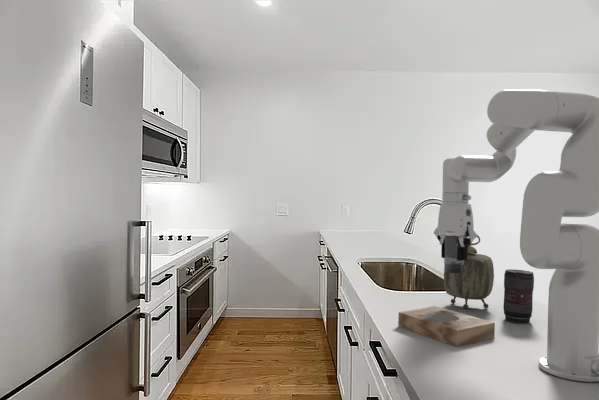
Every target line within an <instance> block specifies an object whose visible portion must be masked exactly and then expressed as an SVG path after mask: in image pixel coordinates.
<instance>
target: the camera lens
mask: <svg viewBox="0 0 599 400" xmlns="http://www.w3.org/2000/svg"><path fill="white" fill-rule="evenodd" d="M503 277H504V278H503V288H504V289H503V290H504V294H503V304H502V305H503V315H505V316H504V317H505V318H504V319H505V321H507V322H510V323H512V324H513V323H514V324H519V325H520V324H529V323H530V321H531V318H532V317H533V297H534V296H533V294H534V287H535V285H534V284H535V276H534V272H533V271H530V270H522V269H512V268H511V269H505V271H504V275H503Z"/></svg>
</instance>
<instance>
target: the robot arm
mask: <svg viewBox="0 0 599 400" xmlns="http://www.w3.org/2000/svg"><path fill="white" fill-rule="evenodd" d="M486 110H487V111H486V114H487V117H488V120H489V121H490V123H492V124H491V125H490V126H489V127H488V129H487V130H486V138H487V141H488V143H489V145H490V146H491V147H492V148H493V149H494V150H496V151H495V152H494V153H493V154H491V155H490V156H488V155H459V156H456V157H448V158H445V159H444V161H443V162H442V192H441V193H442V196H441V197H442V201H441V203H440V205H439V210H438V211H439V213H438V221H437V227H436V228H435V229H434V230H433V235H434V236H435V237H436V239H437V240H438V241H439V245H441V250H440V251H441V252H440V253H441V255H440V256H441V259H444V255H445V232H452V233H455V234H456V236H457V237H458V238H459V242H460V245H461V247H459V260H467V256H468V247H469V246H470V244H471V243H473V241H475V239H477V238H478V237H477V235H478V234H477V233H476V231H475V230H474V215H473V209H472V208H473V207H472V205H471V203H469V201H470V200H472V196H471V195H470V194H469V188H470V187H469V186H470V185H469V184H470V183H492V182H495V181H498V180H499V179H500V178H502V177H503V176H504V175H505V174H506V173H508V172H509V171H510V170H511V169H512V167H513V165H514V164H515V162H516V161H515V160H516V157H517V147H519V145H520V144H521V143H523V142H524V141H525V140H526V139H528V137H529V136H530V135H531V134H533V133H534V132H535V131H546V132H561V133H571V136H569V138H568V139H567V140H566V142H565V144H564V146H563V148H562V150H561V155H560V166H559V170H557V171H556V170H554V171H553V170H551V171H550V170H549V171H541V172H540V173H537V174H535V175H534V176H533V177H532V178H530V180H529V181H528V183H527V185H526V187H525V190H524V194H523V200H522V210H521V223H520V232H519V249H520V253H521V257H522V258H523V260H524V262H526V263H527V265H528V266H530V267H533V268H535V269H537V270H538V269H539V270H554V272H553V274H552V276H551V279H550V281H549V285H548V286H549V287H548V301H547V302H548V305H547V307H548V309H547V334H546V335H547V338H546V340H547V341H546V356H543V357H540V358H539V359H538V367H539V368H540V369H541V370H542V371H544V372H546V373H548V374H550V375H553V376H555V377H559V378H562V379H566V380H570V381H576V382H584V383H587V382H588V383H594V382H597V383H598V382H599V229H598V228H596V227H595V226H592V225H590V224H585V223H578V222H577V223H575V222H573V223H571V222H569V223H567V222H566V223H565V222H562V220H563V218H586V217H593V216H595V215H597V214H598V213H599V97H597V96H594V95H590V94H586V93H579V92H571V91H570V92H569V91H557V90H556V91H555V90H547V89H546V90H545V89H502V90H500V91H498V92H497V93H495V94H494V95H493V96H492V97H491V99H490V100H489V102H488V105H487V107H486ZM463 239H464V240H463Z"/></svg>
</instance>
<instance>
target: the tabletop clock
mask: <svg viewBox="0 0 599 400" xmlns="http://www.w3.org/2000/svg"><path fill="white" fill-rule="evenodd" d="M476 238H477V239H478V241H477V242H474V243H473V242H472V243H471V244H470V246H469V247H468V256H467V260H464V273H448V272H444V271H443V287H444V290H445V292H446V294H448V295H449V296H451V297H453V298H452V299H450V303H451V304H455V303H456V302H457V301H456V299H457V298H459V299H464V302H465V303H464V304H463V306H462V307H463V309H465V310H468V309H469V304H468V300H475V301H477V300H478V301H479V300H480V301H481V302H482V303H483V304H482V305H483V306H482V307H483V308H484V309H488V308H489V304H488V303H486V302H485V299H487V297H489V296H490V295H491V293H492V291H493V287H494V279H495V278H494V277H495V271H494V268H495V267H494V262H493V260H492V257H490V256H489V255H486V254H481V253H478V251H477V249H476V247H474V246H476V245H478V244H479V243H481V238H480V236H479V234H477V237H476Z"/></svg>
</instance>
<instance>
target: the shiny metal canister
mask: <svg viewBox="0 0 599 400" xmlns="http://www.w3.org/2000/svg"><path fill="white" fill-rule="evenodd" d="M463 240H464V239H463ZM459 247H461V245H460V242H459V238H458V237H457V236H456V234H455V233H452V232H445V255H444V258H443V261H444V262H443V264H444V266H443V267H444V268H443V273H444V272H448V273H464V260H459Z"/></svg>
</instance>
